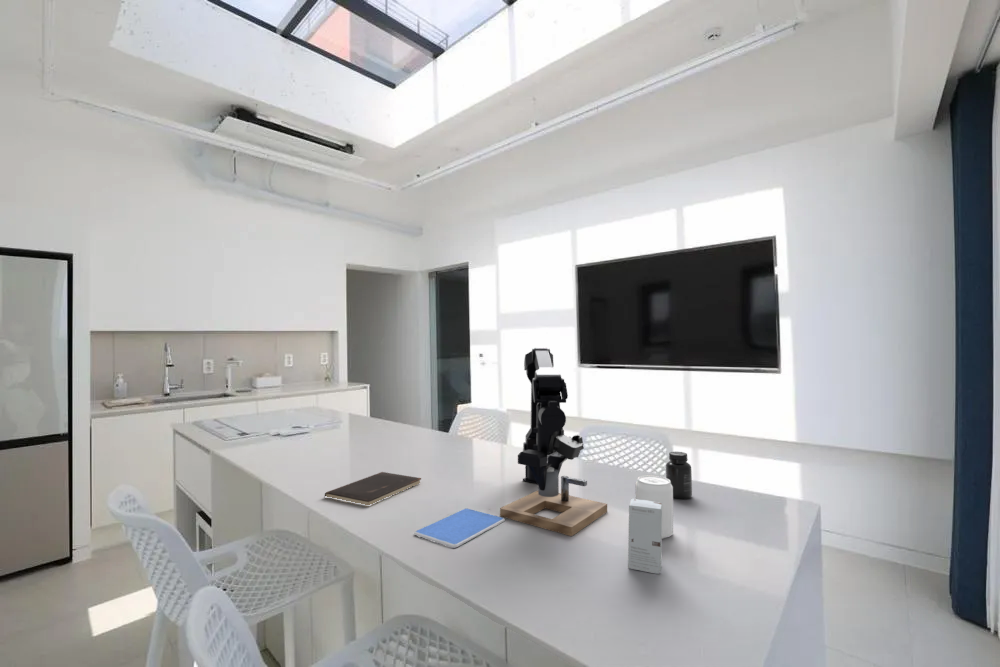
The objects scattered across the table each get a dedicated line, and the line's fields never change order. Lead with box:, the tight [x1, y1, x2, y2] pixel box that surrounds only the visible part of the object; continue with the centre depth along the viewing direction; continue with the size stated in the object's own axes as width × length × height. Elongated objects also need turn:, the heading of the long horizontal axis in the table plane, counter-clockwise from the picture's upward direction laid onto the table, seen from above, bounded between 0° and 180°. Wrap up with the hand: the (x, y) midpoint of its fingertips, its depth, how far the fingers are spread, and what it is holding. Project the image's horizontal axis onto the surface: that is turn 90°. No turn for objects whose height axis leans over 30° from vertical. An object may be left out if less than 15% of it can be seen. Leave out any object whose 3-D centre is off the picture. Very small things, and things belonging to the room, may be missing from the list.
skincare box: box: [627, 498, 663, 575], centre depth 89 cm, size 6×4×12 cm
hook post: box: [560, 475, 588, 501], centre depth 119 cm, size 7×2×6 cm, turn 53°
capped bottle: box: [537, 467, 560, 497], centre depth 114 cm, size 5×5×6 cm
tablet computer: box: [413, 508, 506, 549], centre depth 108 cm, size 19×13×1 cm, turn 146°
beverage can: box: [634, 474, 674, 539], centre depth 105 cm, size 8×8×12 cm
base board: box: [499, 489, 608, 537], centre depth 116 cm, size 20×19×2 cm
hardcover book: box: [324, 471, 422, 505], centre depth 135 cm, size 16×23×2 cm
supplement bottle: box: [665, 451, 693, 500], centre depth 131 cm, size 7×7×12 cm
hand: (548, 487), depth 114 cm, fingers closed on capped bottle, 5 cm apart
